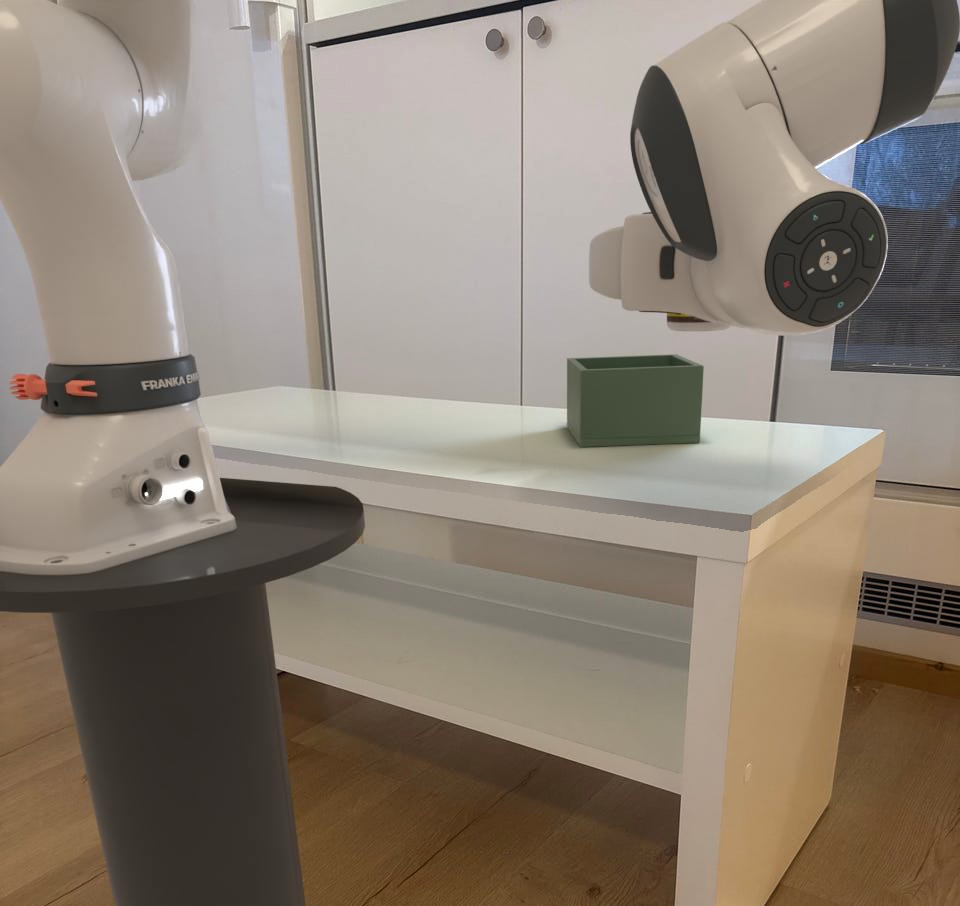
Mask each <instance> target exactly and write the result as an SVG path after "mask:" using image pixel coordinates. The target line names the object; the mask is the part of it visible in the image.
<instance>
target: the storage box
mask: <svg viewBox="0 0 960 906" xmlns="http://www.w3.org/2000/svg"><path fill="white" fill-rule="evenodd" d="M704 370H705V366H704V365H702V364H700V363H698V362H695V361H693V360H690V359H689V358H687V357H684V356H681V355H679V354H677V353H676V354H675V353H674V354H672V353H671V354H649V355H648V354H647V355H622V356H621V355H620V356H594V357H593V356H592V357H568V358H566V428H567V430H568V431H569V433H570V434H571V435H572V437H573V438H574V440H575V441H576V443H577V444H578V446H579V447H580V448H591V447H592V448H594V447H595V448H596V447H618V446H619V447H620V446H622V447H623V446H645V445H646V446H647V445H672V444H675V445H676V444H698V443H699V444H700V443H701V428H702V427H701V425H702V409H703V407H702V406H703V391H704V390H703V388H704V372H705V371H704Z"/></svg>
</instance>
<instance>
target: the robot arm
mask: <svg viewBox="0 0 960 906" xmlns="http://www.w3.org/2000/svg"><path fill="white" fill-rule="evenodd" d="M196 3H197V0H58V4H57V3H55V2H52V1H50V0H0V202H1V204H2V207H3V208H4V210H5V213H6V214H7V216H8V218H9V220H10V222H11V224H12V227H13V229H14V231H15V233H16V236H17V238H18V240H19V243H20V245H21V247H22V249H23V253H24V255H25V258H26V262H27V264H28V267H29V270H30V271H29V272H30V275H31V276H32V282H33V287H34V290H35V295H36V299H37V304H38V308H39V313H40V318H41V322H42V327H43V332H44V336H45V341H46V347H47V351H48V356H49V361H50V362H49V363H48V364H47V365H46V366H45V367H46V368H45V373H44V378H42V377H41V376H40V375H38V374H35V373H31V374H25V373H15V374H13V375H12V376H11V378H10V379H11V381H9V384H8V385H13V386H9V390H14V391H11V392H10V393H11V394H12V395H17V396H15V399H17V400H33V401H38V400H39V401H40V409H41V410H42V411H43V413H42V415H40V418H39V419H38V420H37V421H36V422H35V423H34V425H33V426H32V427H31V428H30V430H29V431H28V432H27V434H26V435H25V436H24V437H23V439H22V440H21V442H20V443H19V444H18V445H17V446H16V447H15V449H14V450H13V451H12V452H11V454H10V455H9V456H7V458H6V459H5V460H4V461H3V463H2V464H1V465H0V571H2V572H9V573H17V574H28V575H54V576H56V575H78V574H88V573H93V572H97V571H100V570H104V569H107V568H110V567H114V566H117V565H120V564H124V563H127V562H130V561H134V560H137V559H140V558H144V557H147V556H150V555H154V554H157V553H160V552H164V551H167V550H170V549H174V548H177V547H180V546H184V545H187V544H190V543H194V542H197V541H200V540H204V539H207V538H210V537H214V536H217V535H220V534H224V533H227V532H230V531H233V530H235V529H236V528H237V525H236V521H235V517H234V516H233V515H232V514H231V511H230V509H229V507H228V505H227V502H226V500H225V497H224V494H223V490H222V486H221V482H220V478H221V477H220V474H219V469H218V465H217V462H216V457H215V454H214V450H213V446H212V441H211V438H210V435H209V432H208V430H207V428H206V426H205V424H204V421H203V418H202V416H201V413H200V410H199V404H198V399H199V398H200V397H201V395H202V394H201V387H200V386H201V385H200V379H201V378H200V373H199V371H198V369H197V363H196V357H195V356H194V355H193V354H191V353H190V351H189V350H190V349H189V342H188V337H187V329H186V322H185V315H184V308H183V307H184V306H183V301H182V294H181V286H180V279H179V272H178V266H177V263H176V260H175V257H174V255H173V253H172V251H171V249H170V248H169V246H168V245H167V244H166V242H164V240H163V239H162V238H161V237H160V235H159V234H158V233H157V232H156V230H155V229H154V226H153V225H152V223H151V221H150V220H149V217H148V215H147V213H146V211H145V208H144V205H143V204H142V202H141V199H140V197H139V194H138V192H137V189H136V186H135V184H134V182H137V181H144V180H147V179H151V178H152V179H153V178H156V177H159V176H162V175H165V174H168V173H171V172H173V171H176V170H177V169H179V168H181V167H182V166H183V165H184V164H186V163H187V161H188V160H189V159H190V158H191V157H192V156H193V155H194V153H195V151H196V149H197V147H198V144H199V141H200V138H201V133H202V127H203V111H202V110H203V109H202V105H201V104H202V103H201V99H200V96H199V93H198V91H197V87H196V84H195V81H194V74H193V51H194V49H193V48H194V33H195V17H196V16H195V15H196ZM959 37H960V8H959V4H958V0H761V1H759V2H757V3H755V4H754V5H752V6H750V7H749V8H747V9H745V10H744V11H742V12H741V13H740V14H739V13H738V14H737V15H736V16H734V17H733V18H731V19H729V20H727V21H726V22H725V21H724V22H721V23H720V24H718V25H716V26H714V27H713V28H712V29H710V30H708V31H706V32H704V33H702V34H700V35H699V36H698V37H695V38H694V39H693V40H691V41H690V42H688V43H686V44H685V45H683V46H681V47H680V48H678V49H677V50H675V51H674V52H672V53H671V54H669V55H667V56H666V57H664V58H663V59H661V60H660V61H658V62H657V63H655V64H654V65H650V66H649V68H648V69H647V71H646V73H645V74H644V77H643V79H642V81H641V84H640V87H639V89H638V91H637V95H636V100H635V104H634V109H633V114H632V120H631V125H630V126H631V128H630V136H629V138H630V139H629V141H630V143H629V144H630V152H631V158H632V163H633V168H634V171H635V175H636V178H637V181H638V184H639V186H640V190H641V192H642V195H643V197H644V199H645V202H646V204H647V206H648V209H649V210H650V211H647V212H646V211H645V212H642V213H634V214H629V215H628V216H626V217H625V218H624V222H623V225H620V226H615V227H613V228H609V229H607V230H604V231H602V232H600V233H599V234H597V235H595V236H594V237H592V239H591V240H590V243H589V251H588V284H589V287H590V289H591V290H593V291H594V292H595V293H597V294H600V295H601V296H603V297H605V298H609V299H614V300H620V301H621V307H622V308H623V309H624V310H626V311H630V312H640V313H656V314H657V313H659V314H667V313H671V314H678V315H682V314H687V315H691V316H694V317H697V318H699V319H702V320H705V321H709V322H719V323H723V324H727V325H731V326H730V327H735V328H739V329H740V328H741V329H746V330H747V329H748V330H750V331H753V332H758V333H762V334H766V335H771V336H780V337H781V336H786V337H792V336H801V335H803V336H804V335H808V334H814V333H817V332H823V331H825V330H828V329H830V328H832V327H834V326H836V325H838V324H840V323H841V322H843V321H844V320H846V319H847V318H849V317H850V316H851V315H852V314H854V313H855V312H856V311H857V310H858V309H859V308H860V307H861V306H862V305H863V304H864V303H865V301H866V300H867V299H868V298H869V296H870V295H871V294H872V292H873V290H874V288H875V287H876V286H877V283H878V282H879V280H880V278H881V275H882V273H883V270H884V267H885V263H886V259H887V256H888V255H887V254H888V247H889V246H888V245H889V237H888V229H887V225H886V222H885V219H884V217H883V215H882V213H881V210H880V209H879V208H878V206H877V204H875V203H874V202H873V200H872V199H870V197H869V196H867V195H866V194H864V193H863V192H861V191H860V190H858V189H856V188H854V187H851V186H849V185H846V184H843V183H839V182H838V181H835V180H833V179H831V178H829V176H826V175H825V174H823V173H822V172H821V171H820V170H818V168H819V167H822V165H825V164H827V163H828V162H830V161H831V160H833V159H836V158H837V157H838V156H841V155H842V154H844V153H845V152H847V151H849V150H850V149H853V148H855V147H856V146H857V145H865V144H867V143H869V142H872V141H874V140H875V139H878V138H880V137H882V136H884V135H887V134H889V133H890V132H893V131H895V130H897V129H900V128H901V127H904V126H906V125H908V124H910V123H913V122H915V121H917V120H919V119H920V118H921V117H923V115H924V114H925V113H926V111H927V110H928V109H929V107H930V106H931V105H932V103H933V101H934V99H935V97H936V95H937V94H938V92H939V90H940V88H941V86H942V84H943V83H944V80H945V78H946V75H947V74H948V71H949V68H950V65H951V64H952V61H953V58H954V55H955V52H956V48H957V45H958V42H959Z"/></svg>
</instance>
